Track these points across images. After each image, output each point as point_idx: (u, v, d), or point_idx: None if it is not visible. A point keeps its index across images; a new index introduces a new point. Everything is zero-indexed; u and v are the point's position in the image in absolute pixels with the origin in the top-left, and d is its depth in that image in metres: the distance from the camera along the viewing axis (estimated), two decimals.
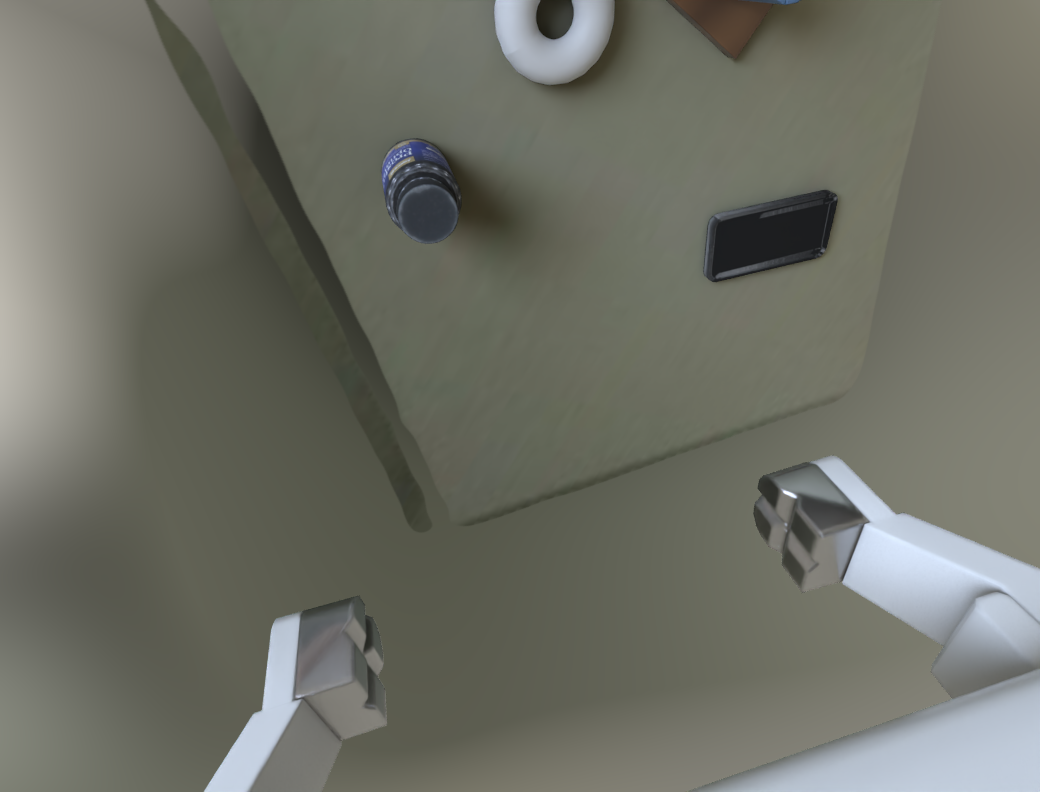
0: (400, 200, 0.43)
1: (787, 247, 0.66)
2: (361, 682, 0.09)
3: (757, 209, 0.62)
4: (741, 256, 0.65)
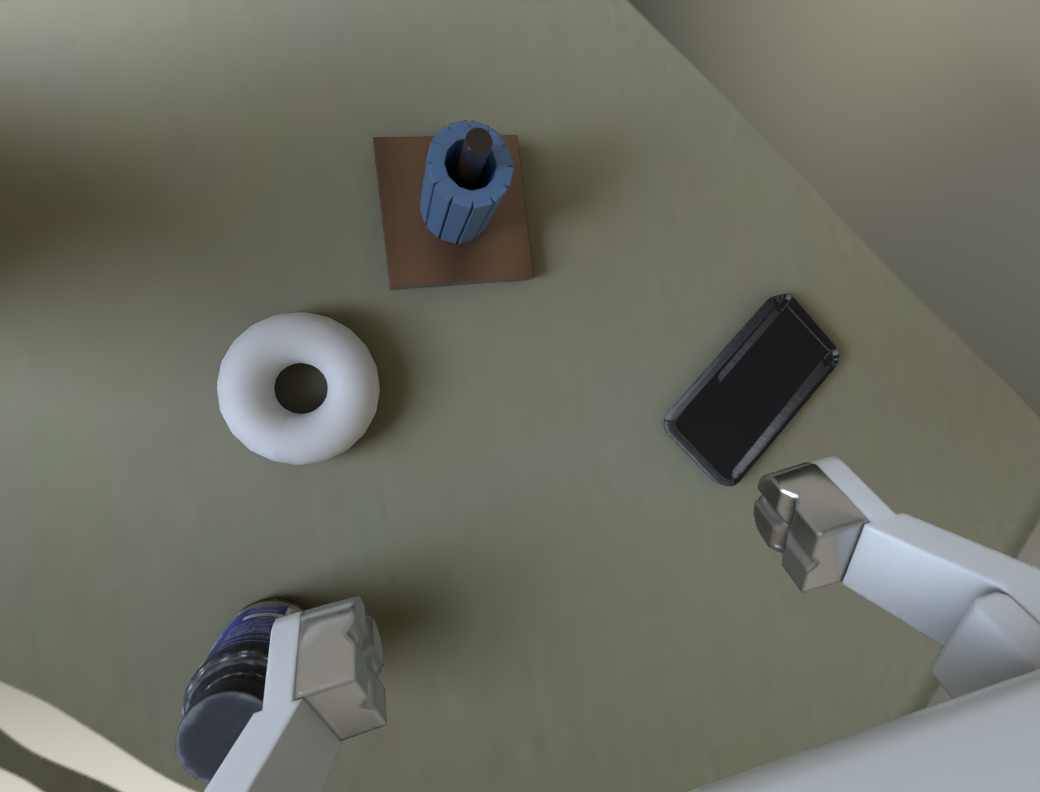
0: None
1: (787, 382, 0.46)
2: (362, 682, 0.09)
3: (707, 376, 0.44)
4: (741, 433, 0.45)
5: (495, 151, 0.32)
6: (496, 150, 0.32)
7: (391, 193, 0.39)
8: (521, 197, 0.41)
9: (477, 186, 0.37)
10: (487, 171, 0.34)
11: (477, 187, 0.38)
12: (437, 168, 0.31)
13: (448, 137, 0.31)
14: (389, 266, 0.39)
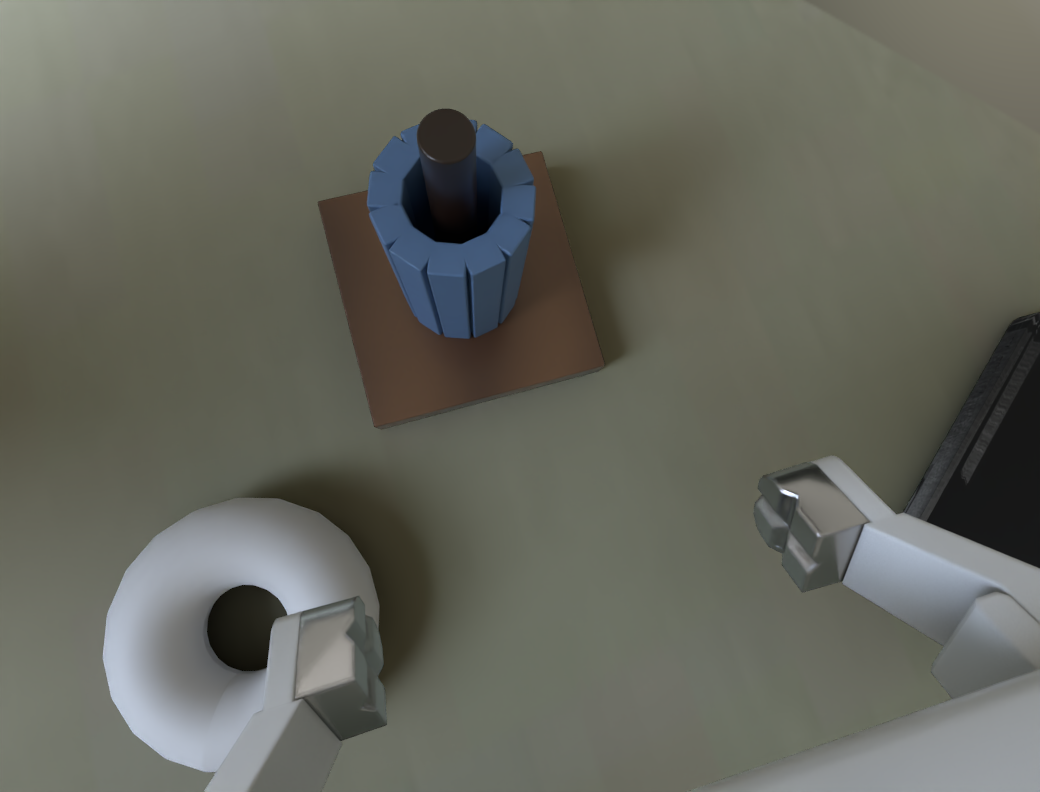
0: None
1: None
2: (362, 682, 0.09)
3: (942, 477, 0.25)
4: None
5: (494, 163, 0.17)
6: (497, 160, 0.17)
7: (356, 280, 0.24)
8: (565, 243, 0.25)
9: None
10: (492, 207, 0.19)
11: None
12: (389, 216, 0.16)
13: (402, 156, 0.16)
14: (368, 395, 0.23)
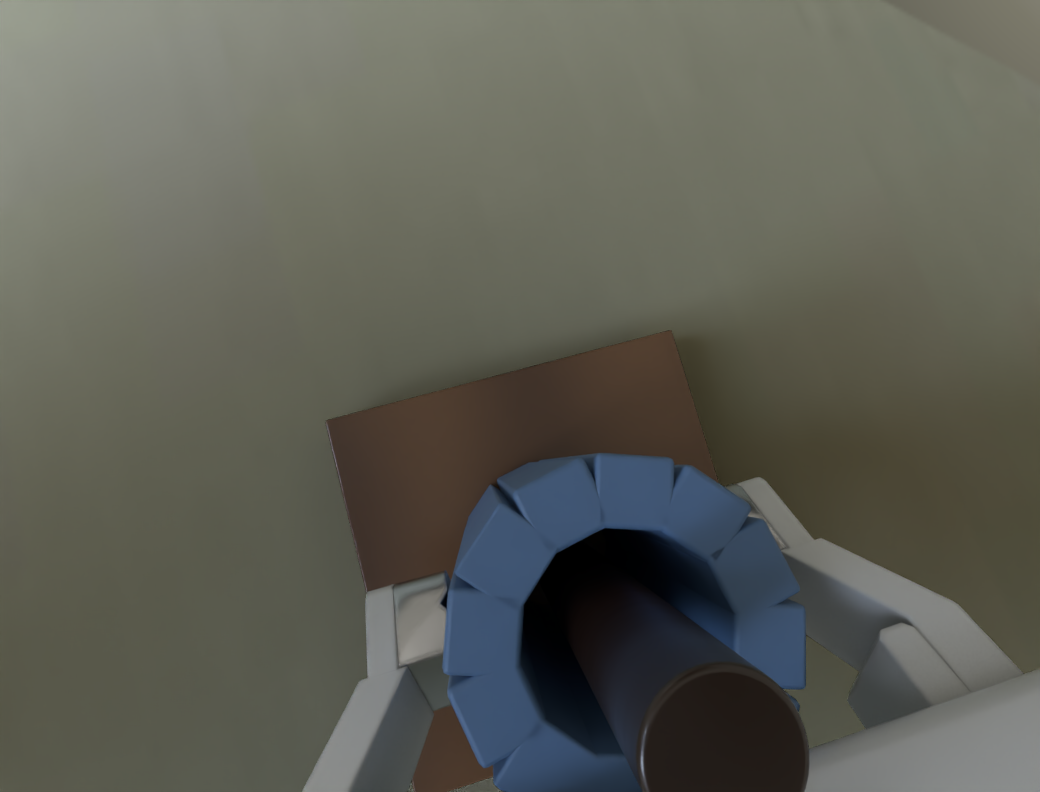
0: None
1: None
2: None
3: None
4: None
5: (718, 557, 0.08)
6: (722, 552, 0.08)
7: (387, 551, 0.15)
8: None
9: None
10: (663, 554, 0.10)
11: None
12: (493, 699, 0.07)
13: (518, 552, 0.07)
14: None
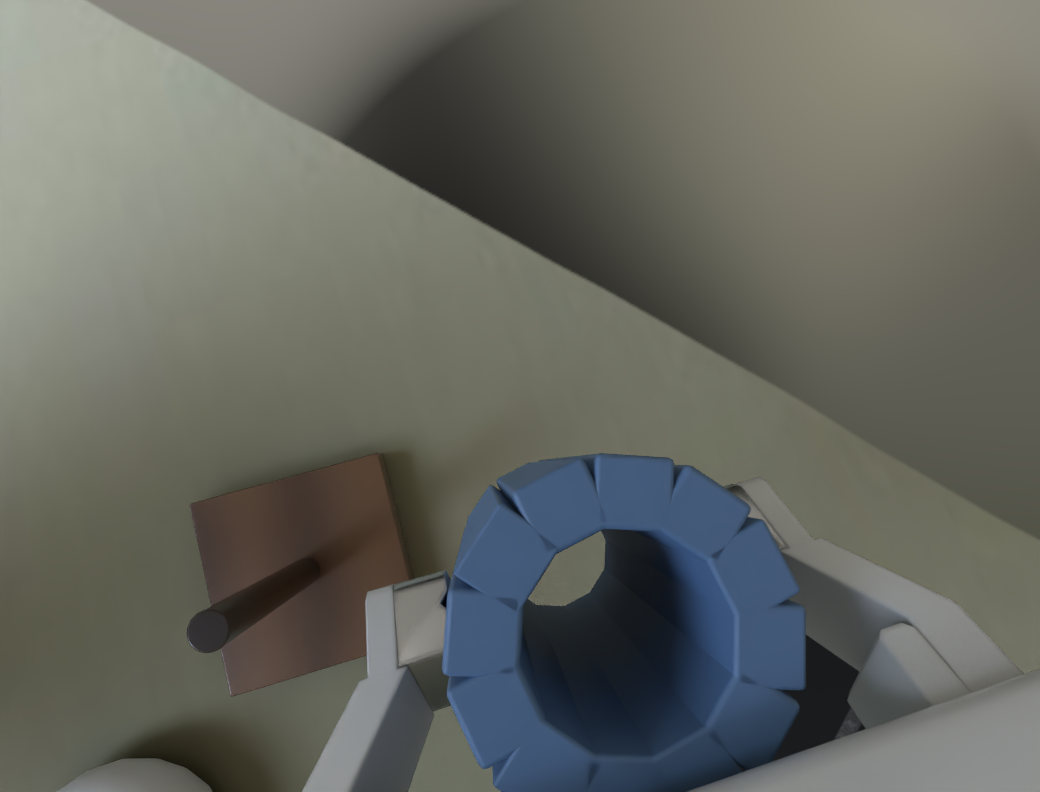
0: None
1: (829, 704, 0.31)
2: None
3: None
4: None
5: (718, 558, 0.08)
6: (722, 553, 0.08)
7: (219, 571, 0.29)
8: (394, 533, 0.30)
9: None
10: (663, 554, 0.10)
11: None
12: (493, 700, 0.07)
13: (518, 552, 0.07)
14: (227, 670, 0.29)
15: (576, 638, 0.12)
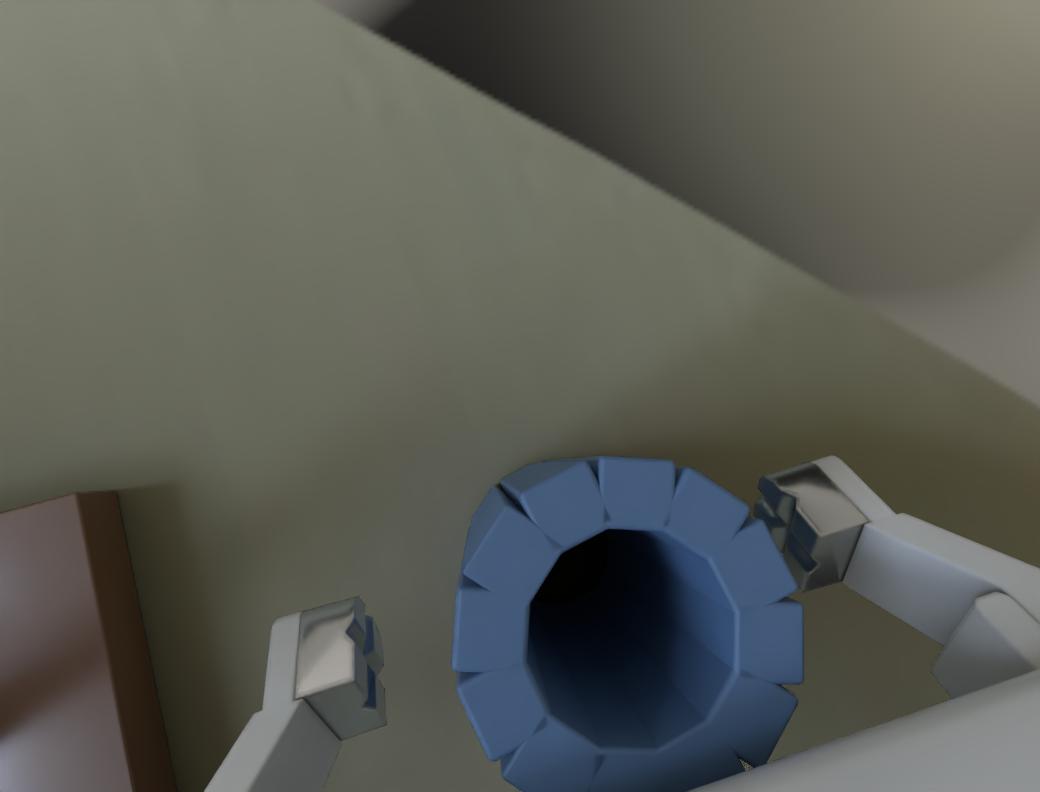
0: None
1: None
2: (361, 682, 0.09)
3: None
4: None
5: (718, 557, 0.08)
6: (722, 552, 0.08)
7: None
8: (105, 680, 0.13)
9: None
10: (665, 554, 0.10)
11: None
12: (501, 695, 0.07)
13: (525, 552, 0.08)
14: None
15: (579, 636, 0.12)
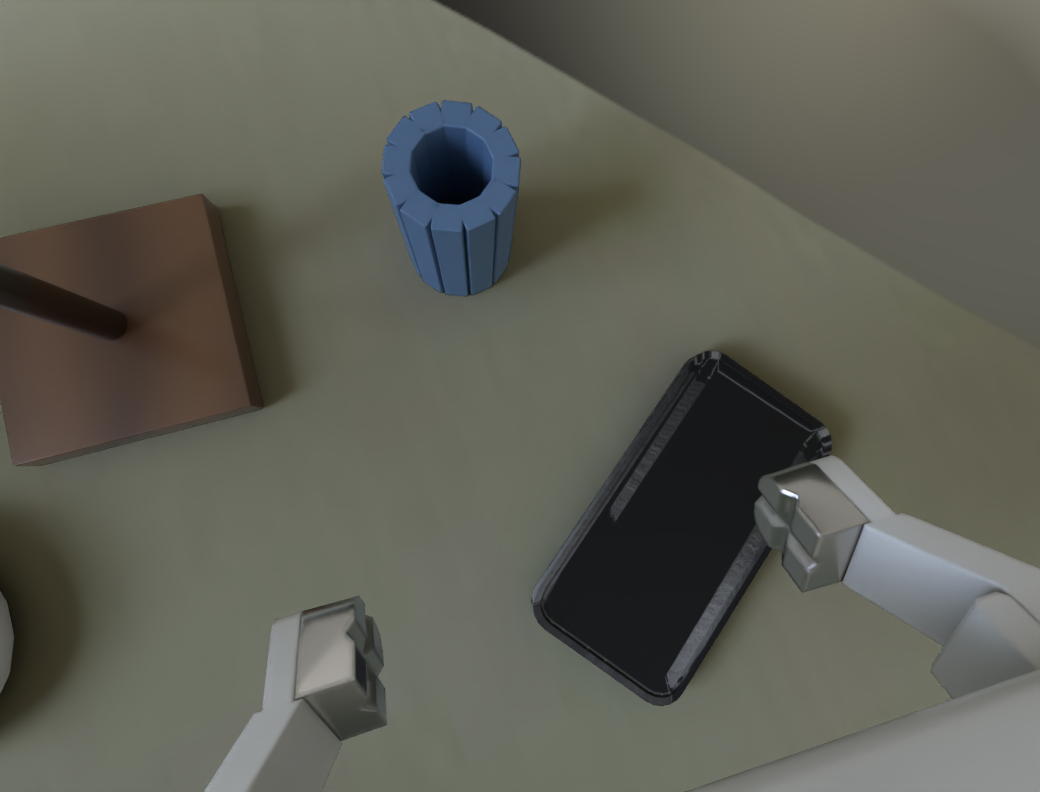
0: None
1: (742, 500, 0.26)
2: (361, 682, 0.09)
3: (589, 515, 0.26)
4: (671, 604, 0.26)
5: (487, 138, 0.20)
6: (488, 136, 0.20)
7: (4, 322, 0.25)
8: (219, 285, 0.25)
9: None
10: (485, 177, 0.22)
11: None
12: (400, 182, 0.20)
13: (410, 132, 0.20)
14: (9, 435, 0.24)
15: None
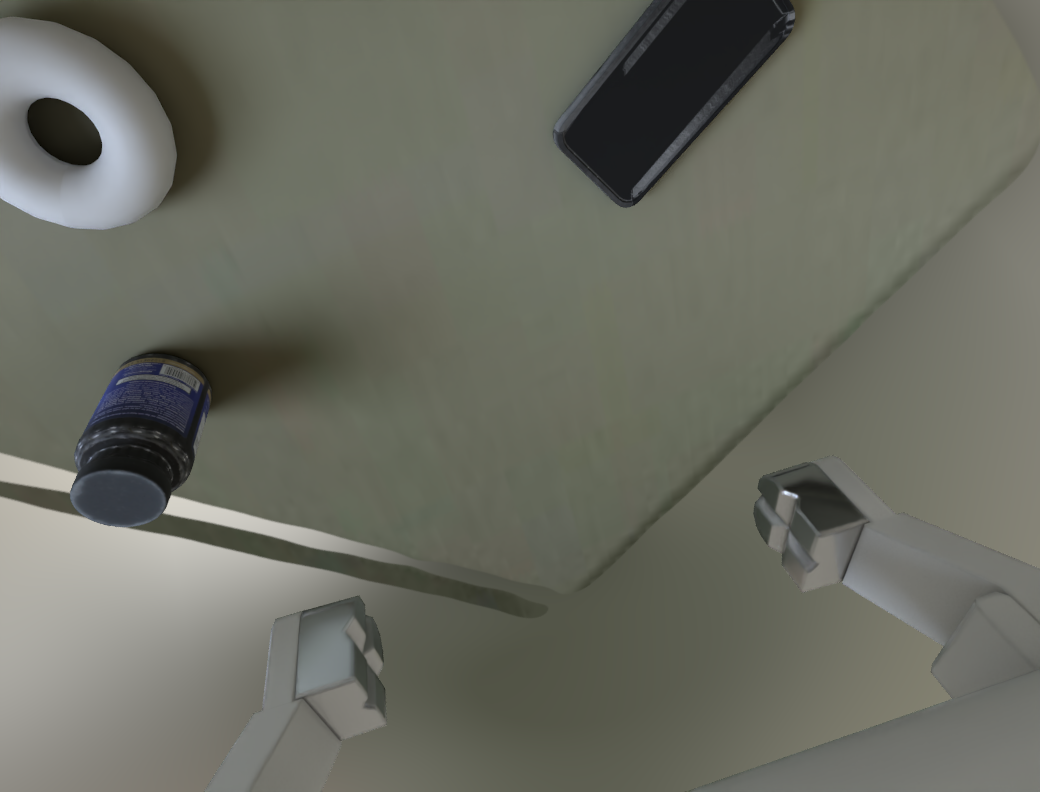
0: None
1: (716, 67, 0.36)
2: (362, 682, 0.09)
3: (608, 67, 0.34)
4: (647, 142, 0.37)
5: None
6: None
7: None
8: None
9: None
10: None
11: None
12: None
13: None
14: None
15: None
